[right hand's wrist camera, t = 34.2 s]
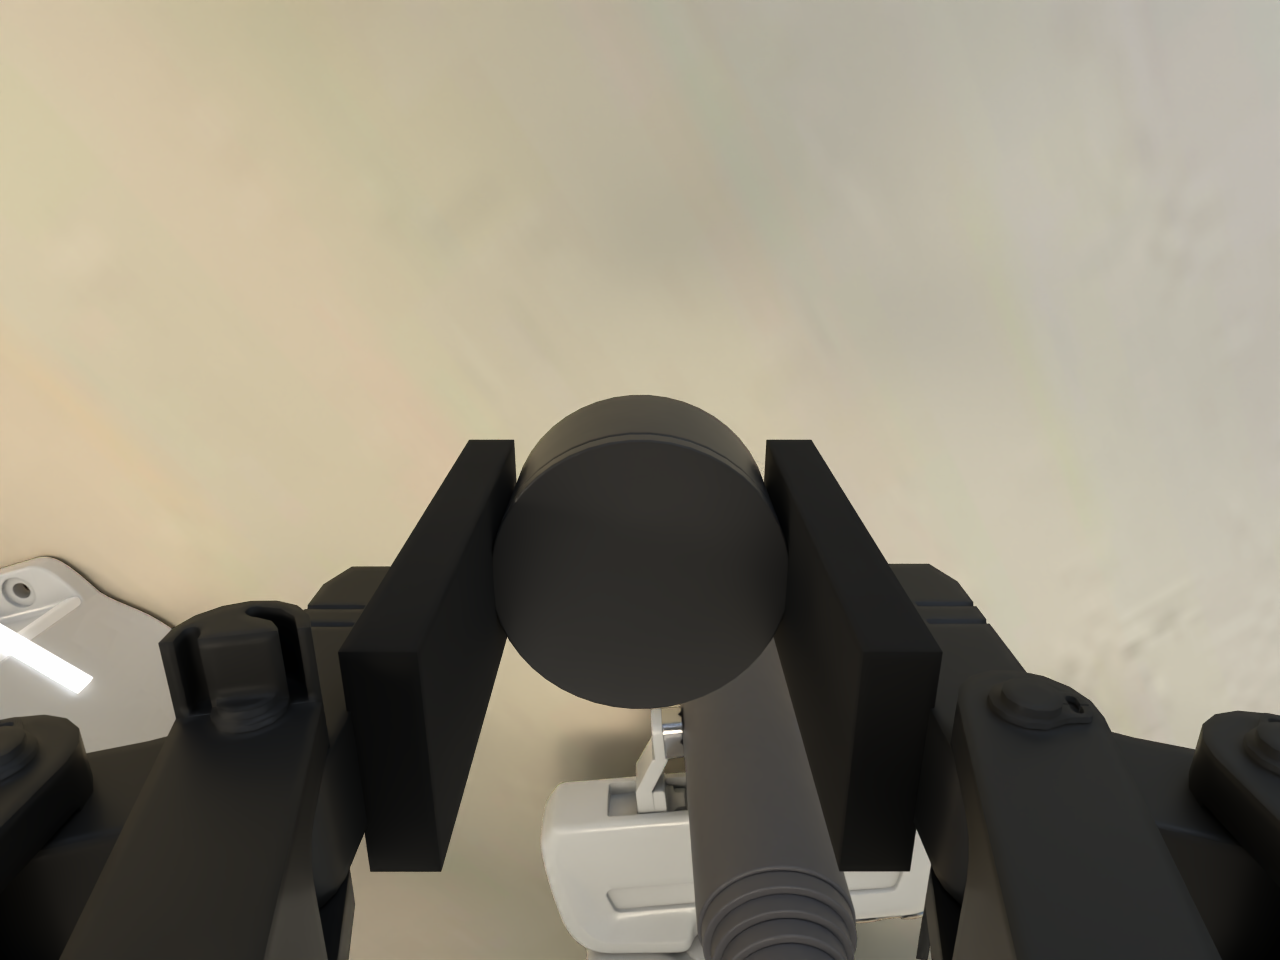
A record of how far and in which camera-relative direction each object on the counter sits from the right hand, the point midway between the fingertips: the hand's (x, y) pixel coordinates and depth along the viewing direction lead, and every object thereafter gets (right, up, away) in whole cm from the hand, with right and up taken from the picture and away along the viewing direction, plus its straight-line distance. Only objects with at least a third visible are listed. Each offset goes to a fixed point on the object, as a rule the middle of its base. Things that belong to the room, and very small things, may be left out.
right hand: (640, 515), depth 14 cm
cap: (0, -1, -2) cm, 2 cm away
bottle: (+5, -9, +31) cm, 32 cm away
